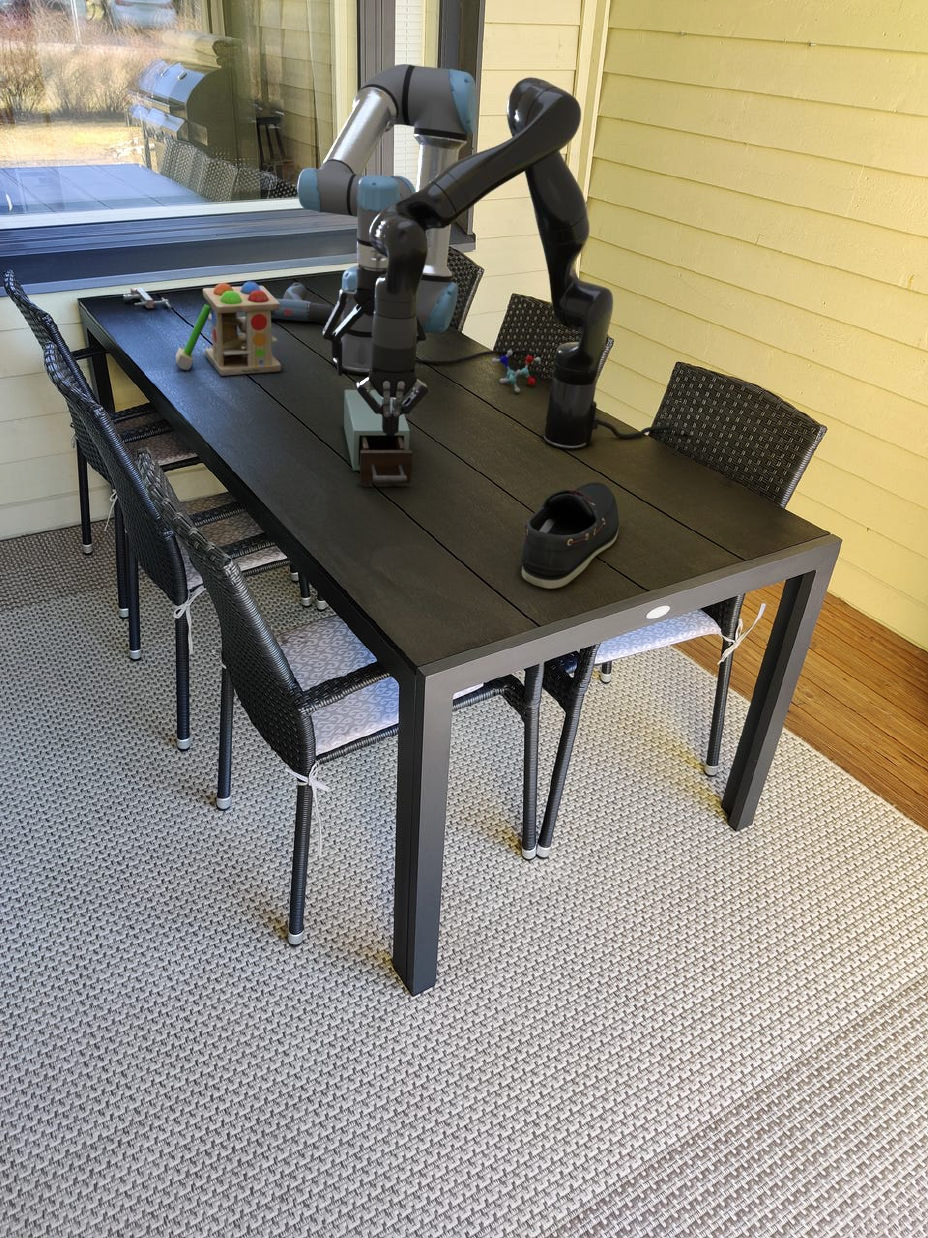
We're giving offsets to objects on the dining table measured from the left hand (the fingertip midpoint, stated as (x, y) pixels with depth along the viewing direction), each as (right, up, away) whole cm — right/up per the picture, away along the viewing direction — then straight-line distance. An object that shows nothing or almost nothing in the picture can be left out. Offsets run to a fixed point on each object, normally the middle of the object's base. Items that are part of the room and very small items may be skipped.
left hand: (373, 373), depth 198 cm
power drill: (-25, +34, +70) cm, 81 cm away
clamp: (-67, +35, +65) cm, 99 cm away
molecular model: (+30, +6, +37) cm, 48 cm away
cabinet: (0, -15, +2) cm, 15 cm away
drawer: (+2, -20, -8) cm, 22 cm away
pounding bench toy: (-38, +10, +33) cm, 51 cm away
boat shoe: (+37, -37, -25) cm, 57 cm away
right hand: (+5, -17, -22) cm, 28 cm away
